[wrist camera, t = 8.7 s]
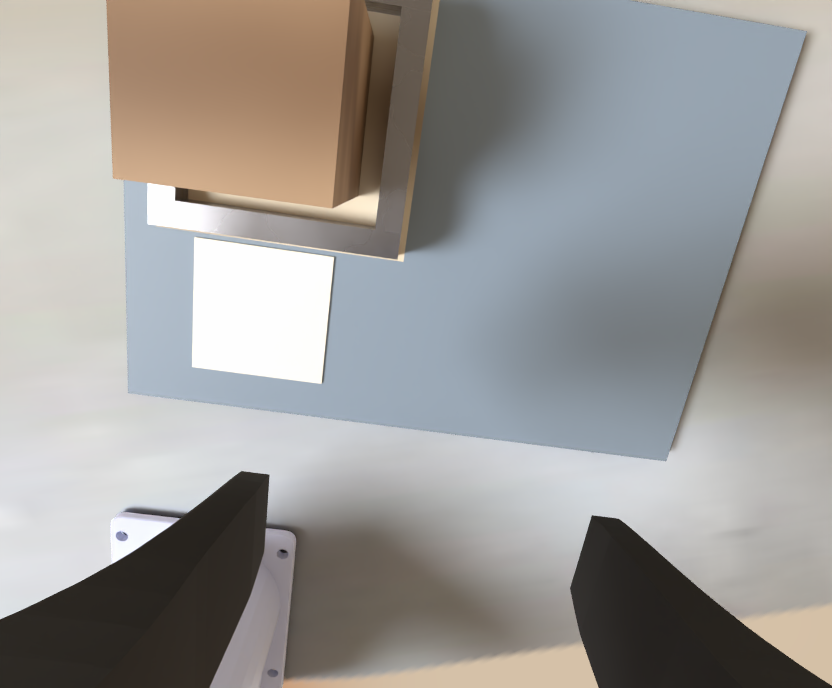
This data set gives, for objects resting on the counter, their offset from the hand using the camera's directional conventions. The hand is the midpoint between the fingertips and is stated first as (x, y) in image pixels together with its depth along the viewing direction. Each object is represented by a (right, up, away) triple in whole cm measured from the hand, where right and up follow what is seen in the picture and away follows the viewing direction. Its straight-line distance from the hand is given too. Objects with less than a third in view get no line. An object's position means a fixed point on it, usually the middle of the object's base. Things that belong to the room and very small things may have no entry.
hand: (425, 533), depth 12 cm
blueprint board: (0, +9, +8) cm, 12 cm away
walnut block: (-4, +11, +4) cm, 13 cm away
